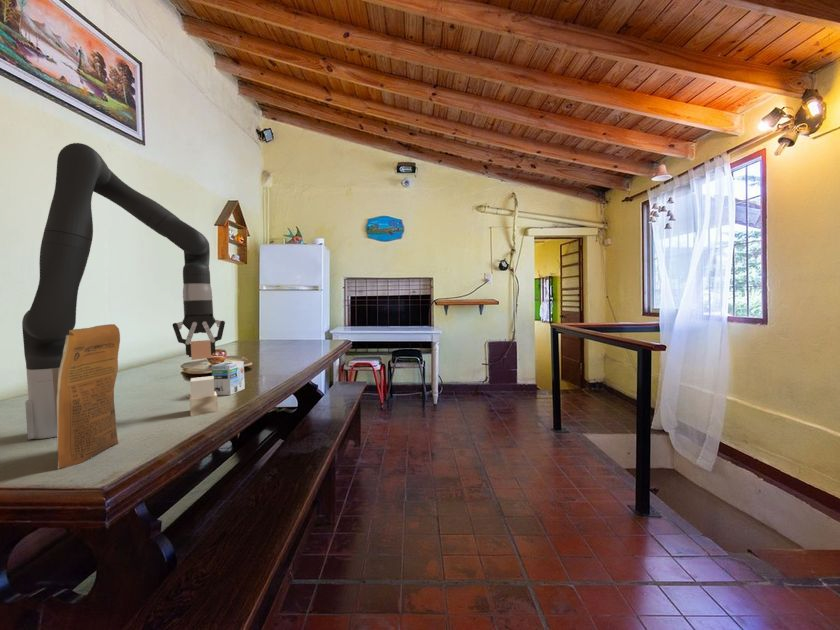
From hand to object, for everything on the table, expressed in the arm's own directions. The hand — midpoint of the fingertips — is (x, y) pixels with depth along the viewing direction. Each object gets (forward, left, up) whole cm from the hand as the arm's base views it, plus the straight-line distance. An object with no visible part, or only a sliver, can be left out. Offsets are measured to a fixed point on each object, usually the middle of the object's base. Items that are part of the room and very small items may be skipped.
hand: (201, 355), depth 113 cm
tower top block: (0, 0, -12) cm, 12 cm away
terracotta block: (0, 0, -1) cm, 1 cm away
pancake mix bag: (-22, -23, -17) cm, 36 cm away
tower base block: (0, 0, -17) cm, 17 cm away
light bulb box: (+9, +23, -17) cm, 30 cm away
